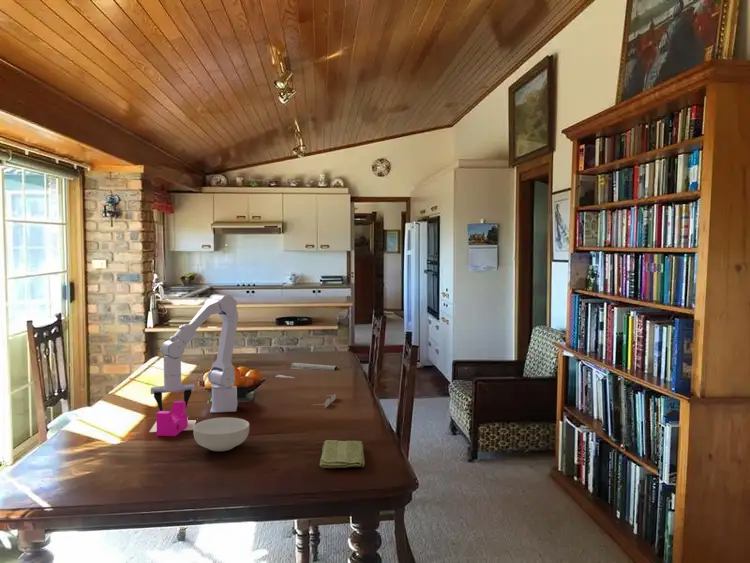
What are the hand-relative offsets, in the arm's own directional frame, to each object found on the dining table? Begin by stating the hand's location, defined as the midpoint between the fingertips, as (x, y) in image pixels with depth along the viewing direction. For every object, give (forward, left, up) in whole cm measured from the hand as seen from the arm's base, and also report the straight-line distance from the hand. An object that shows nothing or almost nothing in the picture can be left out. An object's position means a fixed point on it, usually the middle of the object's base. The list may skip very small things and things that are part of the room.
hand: (173, 412), depth 200 cm
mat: (-52, -62, -4) cm, 81 cm away
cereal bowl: (-19, +29, -4) cm, 35 cm away
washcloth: (-55, +45, -4) cm, 71 cm away
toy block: (-2, +8, -4) cm, 9 cm away
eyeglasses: (-54, -12, -4) cm, 55 cm away
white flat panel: (-1, 0, -4) cm, 4 cm away
